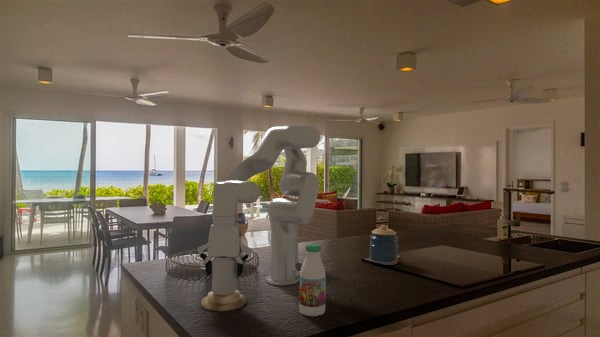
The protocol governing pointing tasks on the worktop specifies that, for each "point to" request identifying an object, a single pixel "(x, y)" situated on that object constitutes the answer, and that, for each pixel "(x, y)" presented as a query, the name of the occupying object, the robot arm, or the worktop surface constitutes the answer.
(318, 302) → the milk bottle
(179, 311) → the worktop surface
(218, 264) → the can
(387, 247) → the canister
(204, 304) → the plinth
